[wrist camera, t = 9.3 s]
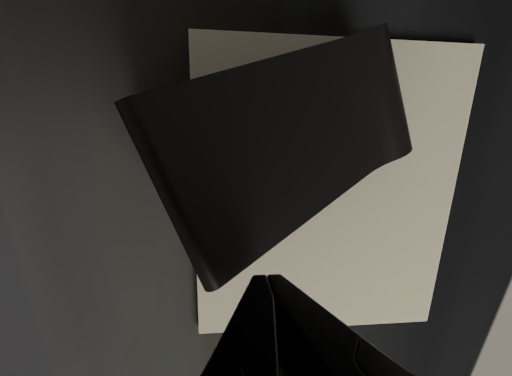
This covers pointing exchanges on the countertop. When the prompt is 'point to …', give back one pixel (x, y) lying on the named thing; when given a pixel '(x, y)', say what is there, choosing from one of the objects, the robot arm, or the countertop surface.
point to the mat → (364, 191)
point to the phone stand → (267, 145)
